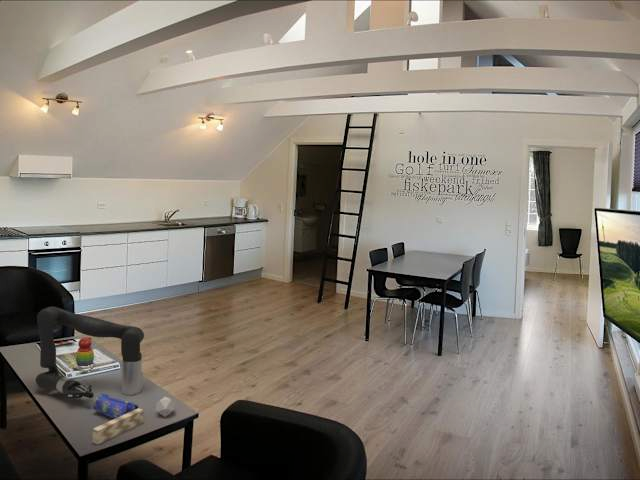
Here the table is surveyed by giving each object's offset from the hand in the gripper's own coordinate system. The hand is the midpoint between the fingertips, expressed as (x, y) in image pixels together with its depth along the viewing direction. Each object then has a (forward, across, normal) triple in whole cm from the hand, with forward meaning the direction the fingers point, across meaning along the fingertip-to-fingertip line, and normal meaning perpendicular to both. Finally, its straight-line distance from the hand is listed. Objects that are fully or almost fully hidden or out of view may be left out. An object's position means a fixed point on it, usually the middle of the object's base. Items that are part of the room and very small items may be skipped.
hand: (92, 395), depth 242 cm
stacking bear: (-46, +30, +7) cm, 55 cm away
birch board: (+28, -8, +6) cm, 29 cm away
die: (+31, +16, +7) cm, 36 cm away
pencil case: (+15, +1, +7) cm, 16 cm away
